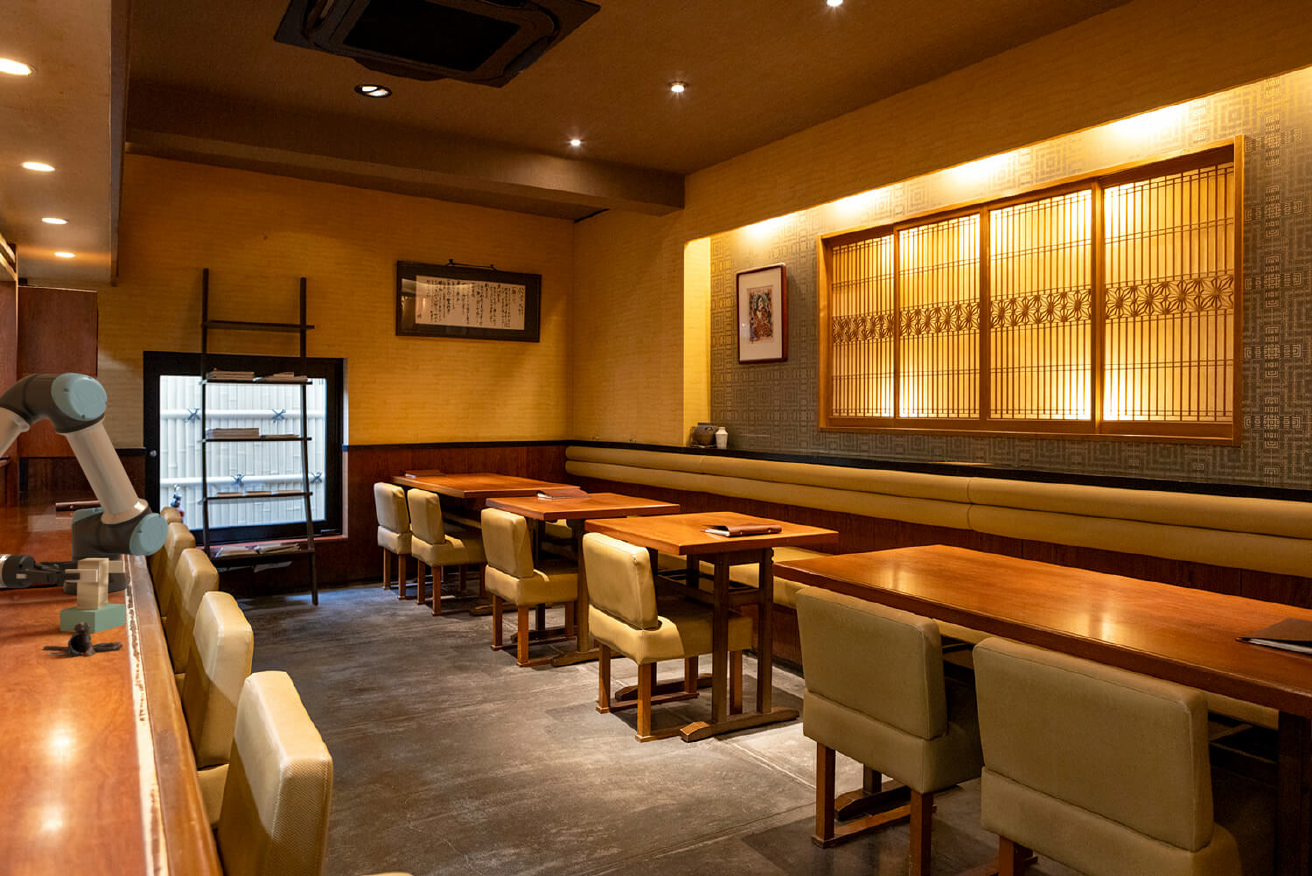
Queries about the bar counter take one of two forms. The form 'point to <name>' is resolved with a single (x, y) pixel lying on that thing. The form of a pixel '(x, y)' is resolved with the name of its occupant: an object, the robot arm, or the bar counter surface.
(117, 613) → the green square block
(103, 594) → the block
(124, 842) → the bar counter surface
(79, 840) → the bar counter surface
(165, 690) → the bar counter surface
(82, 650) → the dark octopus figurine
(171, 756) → the bar counter surface
